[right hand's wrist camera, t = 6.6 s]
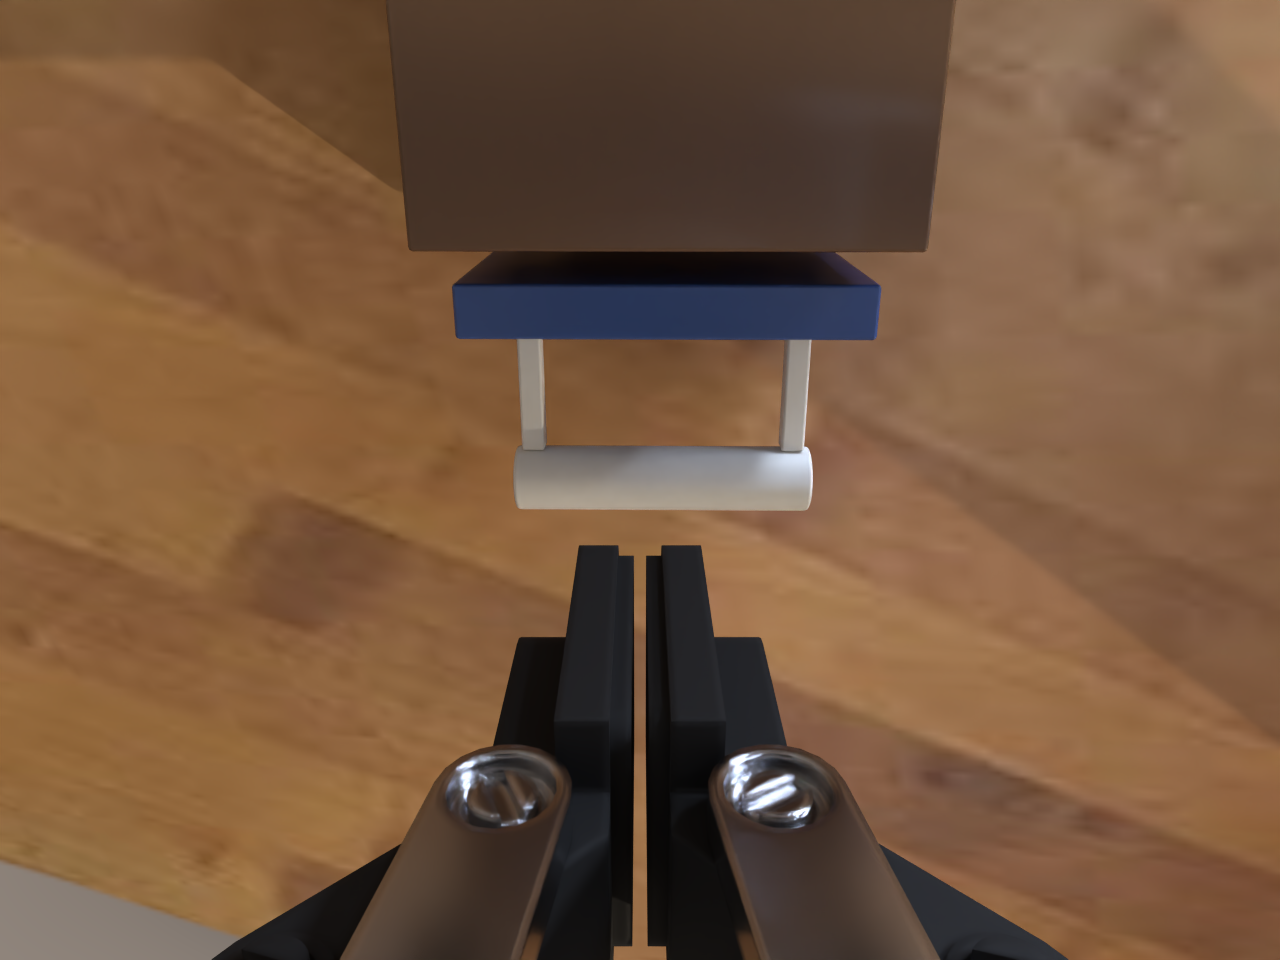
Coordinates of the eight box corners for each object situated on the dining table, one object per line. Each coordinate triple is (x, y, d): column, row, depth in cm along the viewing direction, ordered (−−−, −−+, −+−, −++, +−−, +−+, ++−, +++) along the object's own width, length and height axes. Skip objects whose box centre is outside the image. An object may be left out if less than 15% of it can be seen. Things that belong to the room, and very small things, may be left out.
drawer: (805, 452, 29) (855, 563, 22) (517, 451, 29) (472, 560, 22) (866, -421, 21) (978, -704, 14) (471, -418, 21) (376, -697, 14)
